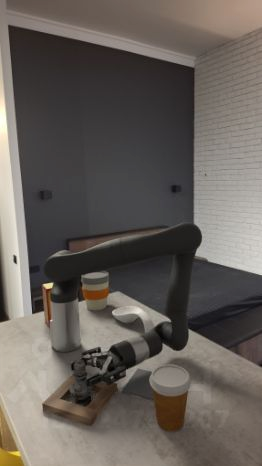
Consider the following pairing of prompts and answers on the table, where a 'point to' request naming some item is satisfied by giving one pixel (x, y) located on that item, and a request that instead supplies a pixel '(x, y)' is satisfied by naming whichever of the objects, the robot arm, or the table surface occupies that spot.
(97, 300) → the reusable coffee cup
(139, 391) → the charcoal coaster
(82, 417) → the walnut holder
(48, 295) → the baking soda box
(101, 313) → the table surface
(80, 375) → the black chess piece
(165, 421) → the disposable coffee cup
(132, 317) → the spoon rest
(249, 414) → the table surface
